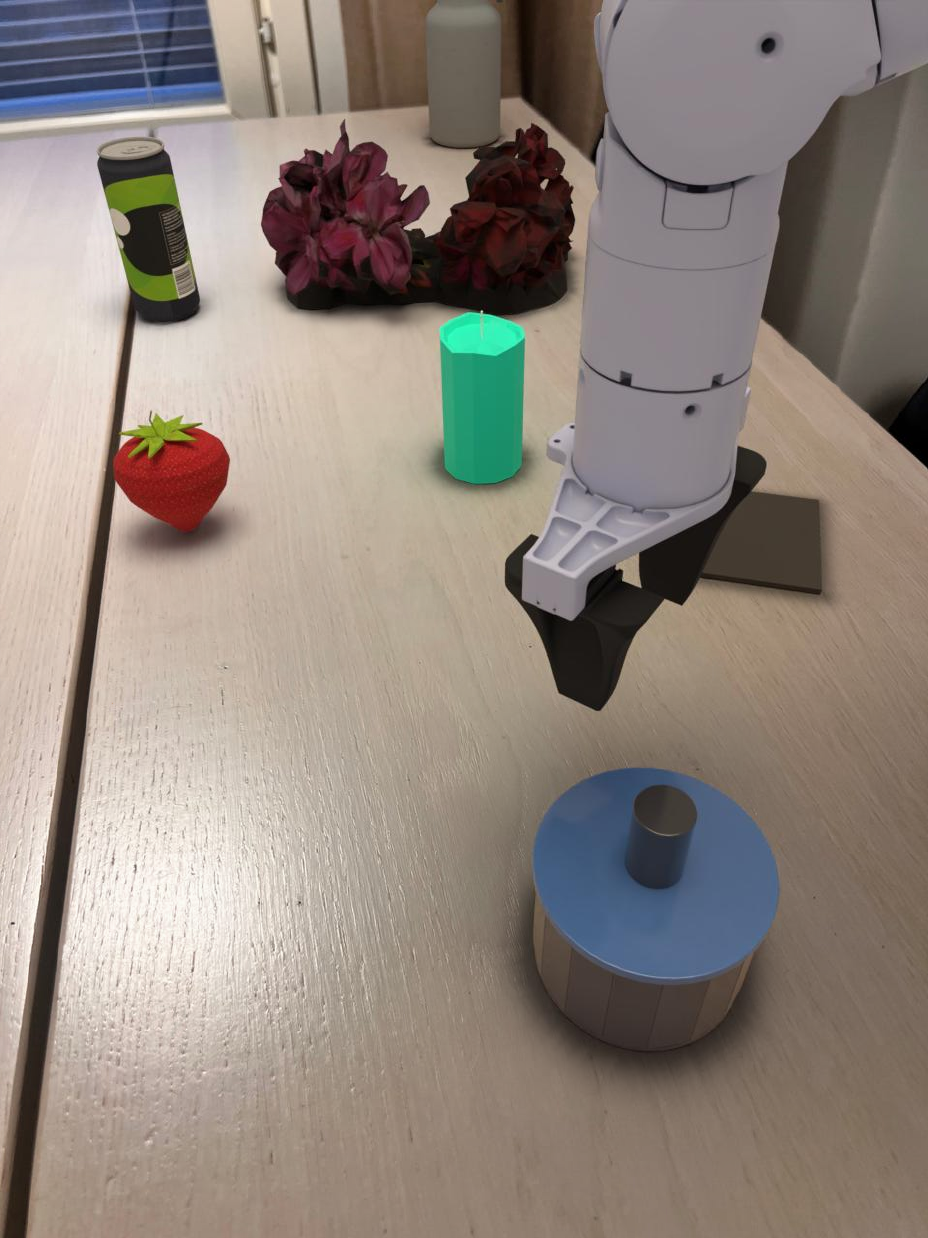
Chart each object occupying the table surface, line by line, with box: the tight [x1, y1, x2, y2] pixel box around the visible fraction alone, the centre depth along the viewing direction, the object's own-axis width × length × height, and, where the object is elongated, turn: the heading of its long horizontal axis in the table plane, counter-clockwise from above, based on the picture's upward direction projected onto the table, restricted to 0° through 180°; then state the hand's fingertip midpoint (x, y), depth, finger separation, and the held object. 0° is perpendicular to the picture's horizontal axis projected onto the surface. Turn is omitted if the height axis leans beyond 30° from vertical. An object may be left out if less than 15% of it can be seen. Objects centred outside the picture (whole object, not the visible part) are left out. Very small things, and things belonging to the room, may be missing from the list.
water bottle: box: [425, 0, 504, 149], centre depth 122 cm, size 10×10×28 cm
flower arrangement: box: [260, 118, 576, 316], centre depth 91 cm, size 31×20×15 cm, turn 99°
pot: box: [532, 892, 756, 1052], centre depth 41 cm, size 9×9×6 cm
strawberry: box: [112, 410, 231, 533], centre depth 63 cm, size 6×8×10 cm
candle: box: [439, 311, 526, 485], centre depth 68 cm, size 6×6×12 cm
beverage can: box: [96, 136, 201, 324], centre depth 88 cm, size 6×6×15 cm
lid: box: [531, 766, 780, 985], centre depth 37 cm, size 10×10×5 cm
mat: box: [700, 490, 823, 595], centre depth 65 cm, size 10×10×1 cm
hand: (625, 642), depth 41 cm, fingers open, 7 cm apart
